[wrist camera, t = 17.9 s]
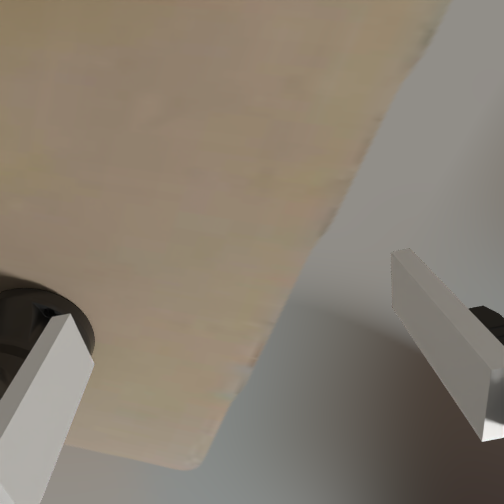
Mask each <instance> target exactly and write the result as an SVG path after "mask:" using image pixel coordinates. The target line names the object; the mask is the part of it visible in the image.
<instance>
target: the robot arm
mask: <svg viewBox="0 0 504 504" xmlns="http://www.w3.org/2000/svg"><path fill="white" fill-rule="evenodd" d="M391 275H392V276H391V277H392V278H391V279H392V308H393V309H394V311H395V313H396V314H397V315H398V317H399V318H400V320H401V322H402V323H403V325H404V326H405V328H406V329H407V331H408V332H409V333H410V335H411V337H412V338H413V340H414V341H415V342H416V344H417V346H418V347H419V348H420V350H421V352H422V353H423V355H424V356H425V357H426V359H427V360H428V362H429V363H430V365H431V366H432V368H433V369H434V371H435V372H436V374H437V375H438V377H439V378H440V380H441V381H442V382H443V384H444V386H445V387H446V389H447V390H448V392H449V393H450V395H451V396H452V397H453V399H454V401H455V402H456V404H457V405H458V407H459V408H460V410H461V411H462V412H463V414H464V416H465V417H466V418H467V420H468V421H469V423H470V424H471V426H472V427H473V429H474V430H475V432H476V433H477V435H478V436H479V438H480V439H481V441H482V442H483V441H488V440H493V439H499V438H504V318H503V317H502V316H501V315H500V314H499V313H496V312H495V311H493V310H491V309H489V308H487V307H485V306H479V307H474V308H469V309H468V308H467V307H466V306H465V305H464V304H463V303H462V302H461V301H460V300H459V299H458V298H457V297H456V296H455V295H454V294H453V293H452V291H451V290H450V289H449V288H448V287H447V286H446V285H445V284H444V283H443V282H442V281H441V280H440V279H439V278H438V277H437V276H436V275H435V274H434V273H433V272H432V271H431V270H430V269H429V268H428V267H427V265H425V263H424V262H423V261H422V260H421V259H420V258H419V257H418V256H417V255H416V254H415V253H414V252H413V251H412V250H411V249H410V248H408V249H403V250H398V251H393V252H391ZM94 345H95V337H94V332H93V329H92V326H91V324H90V322H89V321H88V319H87V318H86V316H85V315H84V314H83V313H82V312H81V310H80V309H78V308H77V307H76V306H75V305H74V304H72V303H71V302H69V301H68V300H66V299H64V298H62V297H60V296H58V295H56V294H53V293H50V292H47V291H43V290H39V289H30V288H19V289H12V290H7V291H4V292H1V293H0V504H40V502H41V499H42V497H43V494H44V492H45V489H46V487H47V484H48V482H49V479H50V477H51V474H52V472H53V469H54V467H55V464H56V461H57V459H58V456H59V453H60V451H61V449H62V446H63V444H64V441H65V438H66V436H67V433H68V431H69V428H70V426H71V423H72V421H73V418H74V415H75V413H76V410H77V408H78V405H79V403H80V400H81V398H82V395H83V392H84V390H85V387H86V385H87V382H88V380H89V377H90V375H91V372H92V369H93V367H94V362H93V360H92V358H91V355H92V353H93V350H94Z"/></svg>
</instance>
